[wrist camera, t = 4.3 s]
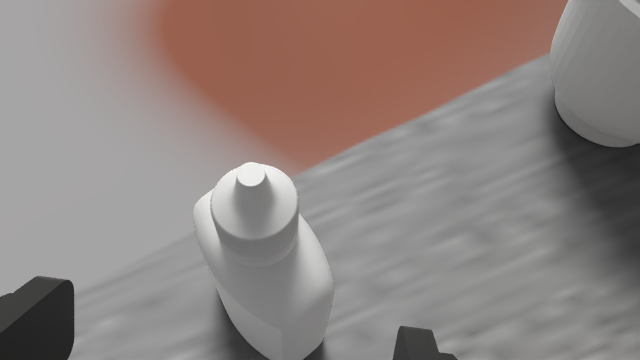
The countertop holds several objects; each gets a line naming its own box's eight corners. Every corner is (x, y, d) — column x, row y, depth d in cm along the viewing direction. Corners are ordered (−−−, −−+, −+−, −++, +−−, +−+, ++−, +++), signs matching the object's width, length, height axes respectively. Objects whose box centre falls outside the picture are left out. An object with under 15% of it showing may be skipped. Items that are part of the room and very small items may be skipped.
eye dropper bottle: (227, 381, 21) (165, 299, 11) (215, 258, 24) (156, 96, 13) (328, 362, 22) (362, 266, 11) (305, 244, 24) (316, 78, 14)
